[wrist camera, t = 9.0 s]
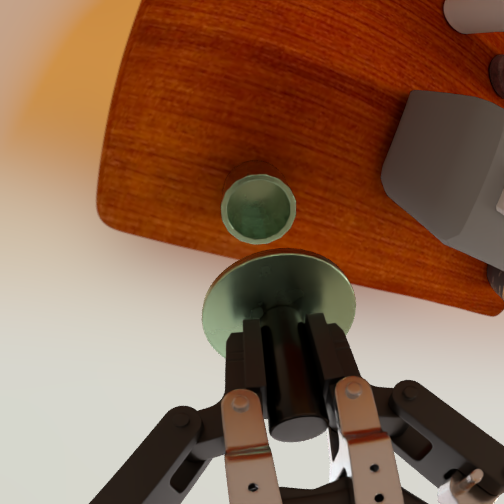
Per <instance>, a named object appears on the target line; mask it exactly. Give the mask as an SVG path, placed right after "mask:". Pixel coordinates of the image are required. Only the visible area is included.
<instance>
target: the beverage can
mask: <svg viewBox="0 0 504 504" xmlns="http://www.w3.org/2000/svg"><path fill="white" fill-rule="evenodd" d="M444 15H445V17H446V19H447V21H448V22H449V24H450V25H451V26H452V27H453V28H454V29H455V30H457V31H458V32H460V33H462V34H472V33H485V32H504V0H446V1H445V3H444Z"/></svg>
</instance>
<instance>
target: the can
mask: <svg viewBox="0 0 504 504" xmlns="http://www.w3.org/2000/svg"><path fill="white" fill-rule="evenodd" d="M489 71H490V79H491V83H492V85H493V87H494V89H495V91H496V92H497V94H498V95H499V96H500V97H502V98H503V99H504V55H497V56H496V57H495V58H494V59H493V60H492V62H491V64H490V69H489Z"/></svg>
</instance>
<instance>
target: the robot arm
mask: <svg viewBox="0 0 504 504" xmlns="http://www.w3.org/2000/svg"><path fill="white" fill-rule="evenodd" d="M305 327H306V331H307V335H308V338H309V342H310V346H311V350H312V353H313V357H314V361H315V365H316V369H317V373H318V377H319V381H320V385H321V389H322V393H323V396H324V400H325V404H326V408H327V412H328V416H329V421H330V423H329V427H328V428H327V430H326V431H327V440H328V447H329V458H330V473H329V482H330V483H329V484H326V485H323V486H321V487H319V488H316V489H297V488H287V487H279V486H278V481H277V476H276V471H275V467H274V462H273V457H272V453H271V449H270V447H269V444H268V438H267V433H266V428H265V423H264V419H268V415H267V405H266V403H267V385H266V375H265V366H264V356H263V346H262V337H261V327H260V318H259V319H246V320H243V332H234V333H231V334H230V336H229V337H228V339H227V341H226V368H225V393H224V396H223V398H222V399H221V400H220V401H219V402H218V403H217V404H215V405H214V406H211V407H209V408H206V409H202V410H199V411H196V410H195V409H194V408H192V407H188V406H178V407H175V408H173V409H171V410H170V411H168V412H167V413H166V414H165V416H164V417H163V418H162V419H161V421H160V422H159V423H158V424H157V426H156V427H155V428H154V429H153V430H152V431H151V432H150V434H149V435H148V436H147V437H146V438H145V440H144V441H143V442H142V443H141V444H140V446H139V447H138V448H137V449H136V450H135V451H134V453H133V454H132V455H131V456H130V457H129V459H128V460H127V461H126V462H125V463H124V465H123V466H122V467H121V468H120V469H119V470H118V471H117V472H116V474H115V475H114V476H113V477H112V478H111V480H110V481H109V482H108V483H107V484H106V485H105V486H104V487H103V489H102V490H101V491H100V492H99V493H98V494H97V495H96V496H95V498H94V499H93V500H92V501H91V502H90V503H89V504H181V502H182V501H183V499H184V498H185V497H186V495H187V494H188V493H189V491H190V490H191V488H192V487H193V486H194V484H195V483H196V481H197V480H198V479H199V477H200V476H201V474H202V473H203V472H204V470H205V468H206V467H207V466H208V464H209V463H210V461H211V460H212V458H214V457H217V456H220V455H224V454H225V468H226V477H227V486H228V494H229V502H230V504H428V503H426V502H425V501H423V500H421V499H420V498H418V497H417V496H415V495H413V494H411V493H410V492H409V491H407V490H406V489H404V488H402V487H401V484H400V480H399V474H398V470H397V465H396V460H395V456H394V452H395V453H397V454H398V455H399V456H400V457H401V458H403V459H404V460H405V461H406V462H407V463H408V464H409V465H411V466H412V467H413V468H414V469H416V470H417V471H418V472H419V473H420V474H421V475H423V476H424V477H425V478H426V479H428V480H429V481H430V482H431V483H432V484H434V485H435V486H436V487H437V488H439V490H438V502H439V503H440V504H494V503H495V501H496V500H497V498H498V497H499V495H501V494H502V493H504V446H503V445H502V444H500V443H499V442H497V441H496V440H495V439H493V438H492V437H491V436H489V435H488V434H486V433H485V432H484V431H483V430H481V429H480V428H479V427H477V426H476V425H475V424H473V423H472V422H470V421H469V420H468V419H466V418H465V417H464V416H462V415H461V414H460V413H458V412H457V411H456V410H454V409H453V408H452V407H450V406H449V405H447V404H446V403H445V402H443V401H442V400H441V399H439V398H438V397H437V396H435V395H434V394H433V393H431V392H430V391H429V390H427V389H426V388H425V387H423V386H422V385H420V384H419V383H418V382H416V381H412V380H404V381H401V382H399V383H398V384H396V385H395V387H394V388H384V387H375V386H372V385H370V384H369V383H368V382H367V381H366V380H365V379H363V378H362V377H361V375H360V373H359V370H358V367H357V365H356V362H355V360H354V357H353V354H352V351H351V349H350V346H349V344H348V341H347V339H346V336H345V333H344V331H343V329H342V328H340V327H339V326H338V325H337V324H336V323H330V324H327V322H326V319H325V316H324V314H323V313H313V314H306V315H305Z"/></svg>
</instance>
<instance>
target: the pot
mask: <svg viewBox="0 0 504 504" xmlns="http://www.w3.org/2000/svg"><path fill="white" fill-rule="evenodd" d="M221 215H222V221H223V223H224V224H225V226H226V228H227V230H228V231H229V232H230V233H231V234H232V235H233V236H235V237H236V238H237V239H239V240H240V241H243V242H247V243H250V244H266V243H270V242H272V241H274V240H276V239H279V238H280V237H282V236H283V235H284V234H285V233H286V232H287V231H288V230H289V229H290V227H291V226H292V223H293V221H294V219H295V216H296V200H295V198H294V196H293V193H292V191H291V189H290V187H289V185H288V184H287V182H286V180H285V178H284V177H283V175H282V173H281V172H280V171H279V170H278V169H277V168H276V167H274V166H273V165H271V164H269V163H267V162H263V161H248V162H244V163H242V164H240V165H238V166H237V167H235V168H234V169H233V170H232V171H231V172H230V173H229V175H228V176H227V178H226V181H225V184H224V187H223V193H222V200H221Z"/></svg>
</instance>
